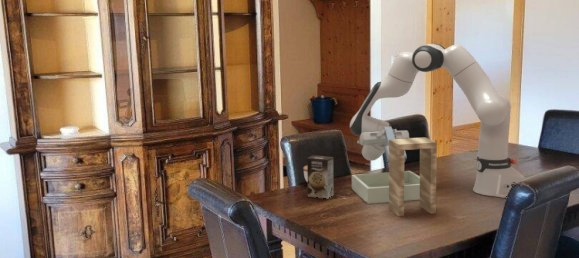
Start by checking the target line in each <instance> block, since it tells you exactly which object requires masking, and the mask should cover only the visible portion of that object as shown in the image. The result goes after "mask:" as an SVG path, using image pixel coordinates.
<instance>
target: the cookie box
mask: <svg viewBox="0 0 579 258" xmlns="http://www.w3.org/2000/svg"><path fill="white" fill-rule="evenodd" d="M306 161H307V163H306V164H307V165H306V166H307V172H308V182H307V197H308V198H316V197H318V198H317V199H323V198H326V200H328V199H330V198H332V197H333V196H334V157H333V156H323V155H315V154H313V155H311V156H309V157H307V160H306ZM331 196H332V197H331ZM329 197H330V198H329Z"/></svg>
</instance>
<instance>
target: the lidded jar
mask: <svg viewBox="0 0 579 258" xmlns="http://www.w3.org/2000/svg"><path fill="white" fill-rule="evenodd" d="M303 176H304V179H305V181H306V183H308V172H307V165H304V166H303Z"/></svg>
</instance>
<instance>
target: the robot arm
mask: <svg viewBox="0 0 579 258" xmlns="http://www.w3.org/2000/svg"><path fill="white" fill-rule="evenodd" d="M441 68H443V69H445V70H446V71H447V72H448V73H449V75H450V76H451V77H452V79H453V80H454V82H455V83H456V84H457V85H458V87H459V88H460V89H461V91H462V92H463V94H464V95H465V97H466V98H467V101H468V102H469V104H470V106H471V107H472V109H473V111H474V113H475V114H476V115H477V117H478V119H479V121H480V127H479V134H478V149H477V150H478V151H477V152H478V153H477V157H476V176H475V181H474V186H473V188H472V191H473V192H474V193H476V194H478V195H483V196H489V197H497V198H502V199H503V198H507V197H506V196H507V194H508V192H509V190H510V188H511V187H512V186H513V185H514V184H516V183H518V182H520V181H522V180H524V179H525V180H526V178H525V176H524V175H523V174H522V173H520V172H519V171H518V170H516V168H514V167H513V166H512V165H516V164H517V159H516V158H515V159H514V158H510V157H509V156H508V153H509V152H508V151H509V150H508V148H509V135H510V133H509V132H510V125H511V124H510V123H511V111H512V110H511V109H512V106H511V102H510V100H509V99H508V97H506V96H505V95H503V94H500V93H498V91H497V90H496V88H495V85H493V83H492V81H491V79H490V77H489V75H488V74H487V73H486V72H485V70H484V69H483V68H482V67H481V64H480V63H478V61H477V60H476V58H475V57H474V56H473V55H472V54H471V53H470V52H469V51H468V49H466V48H465V47H464V46H463V45H461V44H458V43H457V44H456V43H455V44H452V45H450V46H447V48H446V47H445V46H443V45H442V44H438V43H427V44H424V45H421V46H419V47H417V48H416V49H415V50H414V52H411V51H401V52H399V54H397V57H396V58H395V60H394V61H393V63H392V64H391V66H390V69H389V71H388V73H387V75H386V77H385V78H384V79H383V80H382V81H377V82H376V83H375V84H374V85H373V87H372V88H371V90H370V91H369V93H368V94H367V96H366V97H365V99H364V100H363V102H362V104H361V105H360V107H359V109H358V110H357V111H356V113H355V114H354V115H353V116H352V118H351V120H350V121H349V130H350V132H351V134H353V136H357V137H359V139H358V140H357V141H356V143H357V144H359V145H361V146H363V147H362V148H361V149H362V150H361V154H362V156H363V158H364V159H365V160H367V161H376V160H378V159H379V158H381V157H382V156H383V154H385V151H384V150H385V147H386V146H388V145H387V141H386V138H385V135H386V130H383V129H384V127H392V125H391V123H390V122H387V121H386V120H382V119H378V118H377V117H373V116H370V115H368V114H369V113H370V111H371V109H372V108H373V107H374V105H375V104H376V102H377V101H379V100H380V99H389V98H400V97H403V96H405V95H407V94H408V93H409V91H410V89H411V88H412V86H413V83H414V82H415V79H416V76H417V74H418V73H419V72H424V73H429V72H434V71H436V70H439V69H441ZM392 130H393V133H394V137H395V139H407V138H410V133H409V131H408V130H397V128H395V129H394V128H392Z"/></svg>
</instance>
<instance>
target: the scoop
mask: <svg viewBox="0 0 579 258" xmlns="http://www.w3.org/2000/svg"><path fill="white" fill-rule="evenodd" d="M392 129H393V128H392V126H391V127H384V129H383V130H386V135H385V138H386V141H387V145H388V146H386V147H385V150H384V151H385V152H384V155H385V158H386V161H387V164H389V140H390V139H395V137H394V133H393V130H392ZM407 158H408V157H407V153H406V150H404V163H405V162H406V161H407Z"/></svg>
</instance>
